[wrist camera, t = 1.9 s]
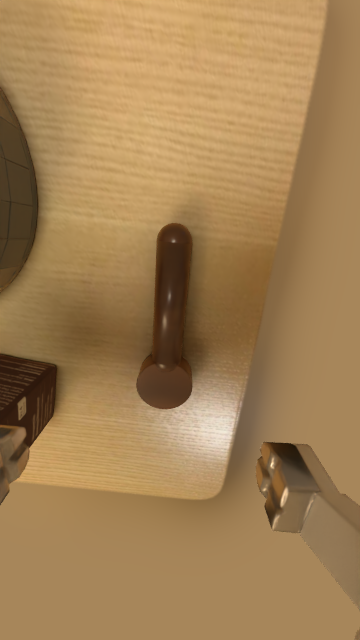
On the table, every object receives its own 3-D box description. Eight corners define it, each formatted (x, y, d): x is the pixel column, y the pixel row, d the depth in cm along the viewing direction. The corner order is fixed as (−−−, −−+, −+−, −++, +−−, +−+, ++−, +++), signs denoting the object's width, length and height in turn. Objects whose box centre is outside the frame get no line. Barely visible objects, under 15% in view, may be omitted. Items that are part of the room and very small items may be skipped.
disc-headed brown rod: (144, 221, 16) (138, 218, 14) (208, 226, 16) (212, 225, 14) (140, 392, 21) (135, 410, 19) (189, 396, 22) (189, 414, 19)
